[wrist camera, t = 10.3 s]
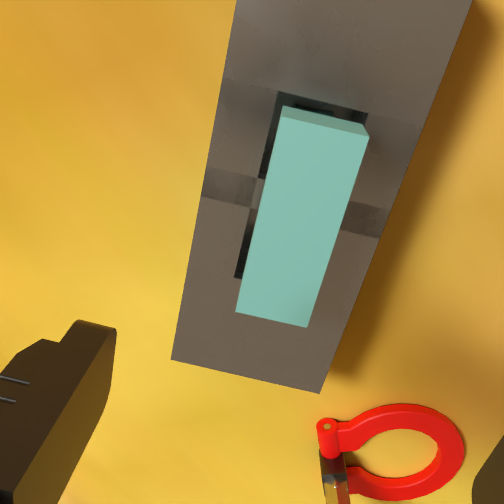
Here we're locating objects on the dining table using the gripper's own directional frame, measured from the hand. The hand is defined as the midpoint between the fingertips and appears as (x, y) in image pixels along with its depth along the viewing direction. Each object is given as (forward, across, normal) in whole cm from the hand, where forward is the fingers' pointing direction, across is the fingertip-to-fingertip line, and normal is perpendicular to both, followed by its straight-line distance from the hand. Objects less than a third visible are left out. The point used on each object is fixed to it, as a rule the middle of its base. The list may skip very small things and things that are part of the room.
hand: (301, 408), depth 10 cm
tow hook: (+16, -11, +17) cm, 26 cm away
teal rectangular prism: (+15, 0, 0) cm, 15 cm away
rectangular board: (+16, 0, 0) cm, 16 cm away
